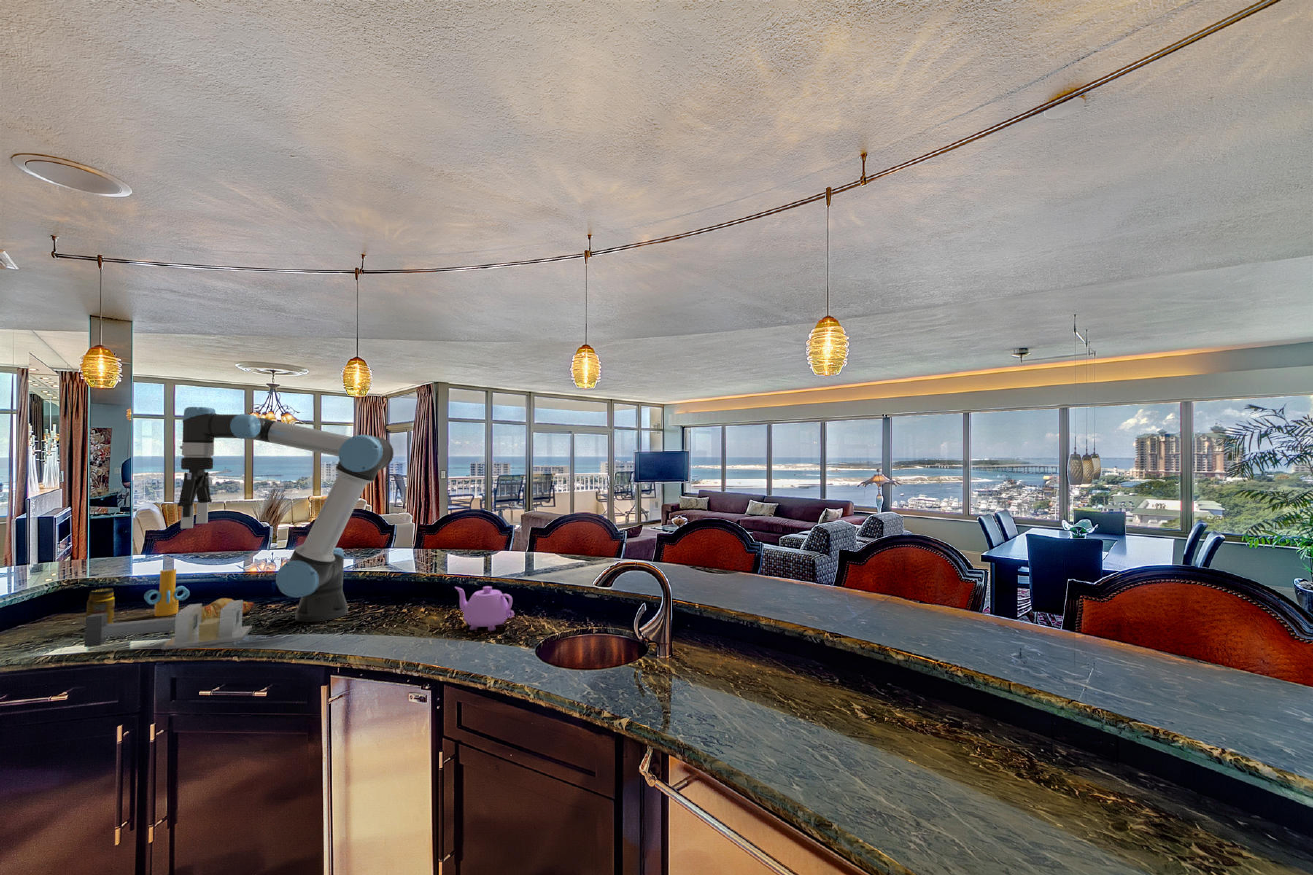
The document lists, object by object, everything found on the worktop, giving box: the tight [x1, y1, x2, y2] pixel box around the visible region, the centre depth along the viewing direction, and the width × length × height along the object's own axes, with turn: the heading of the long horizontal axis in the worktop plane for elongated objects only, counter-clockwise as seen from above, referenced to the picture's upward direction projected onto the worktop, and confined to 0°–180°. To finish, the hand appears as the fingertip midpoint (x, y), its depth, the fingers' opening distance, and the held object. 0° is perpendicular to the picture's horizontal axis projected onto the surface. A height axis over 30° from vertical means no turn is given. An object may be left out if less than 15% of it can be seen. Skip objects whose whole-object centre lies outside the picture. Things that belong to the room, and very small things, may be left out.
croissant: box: [201, 597, 255, 623], centre depth 176 cm, size 21×10×8 cm, turn 158°
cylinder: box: [143, 568, 190, 617], centre depth 182 cm, size 12×10×15 cm
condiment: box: [72, 588, 116, 635], centre depth 165 cm, size 7×8×12 cm
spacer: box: [199, 618, 220, 639], centre depth 157 cm, size 4×6×4 cm
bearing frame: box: [161, 599, 253, 651], centre depth 157 cm, size 18×12×9 cm, turn 116°
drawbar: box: [83, 613, 196, 648], centre depth 150 cm, size 23×3×8 cm, turn 116°
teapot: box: [454, 585, 515, 632], centre depth 171 cm, size 20×14×12 cm
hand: (194, 525), depth 163 cm, fingers open, 13 cm apart
